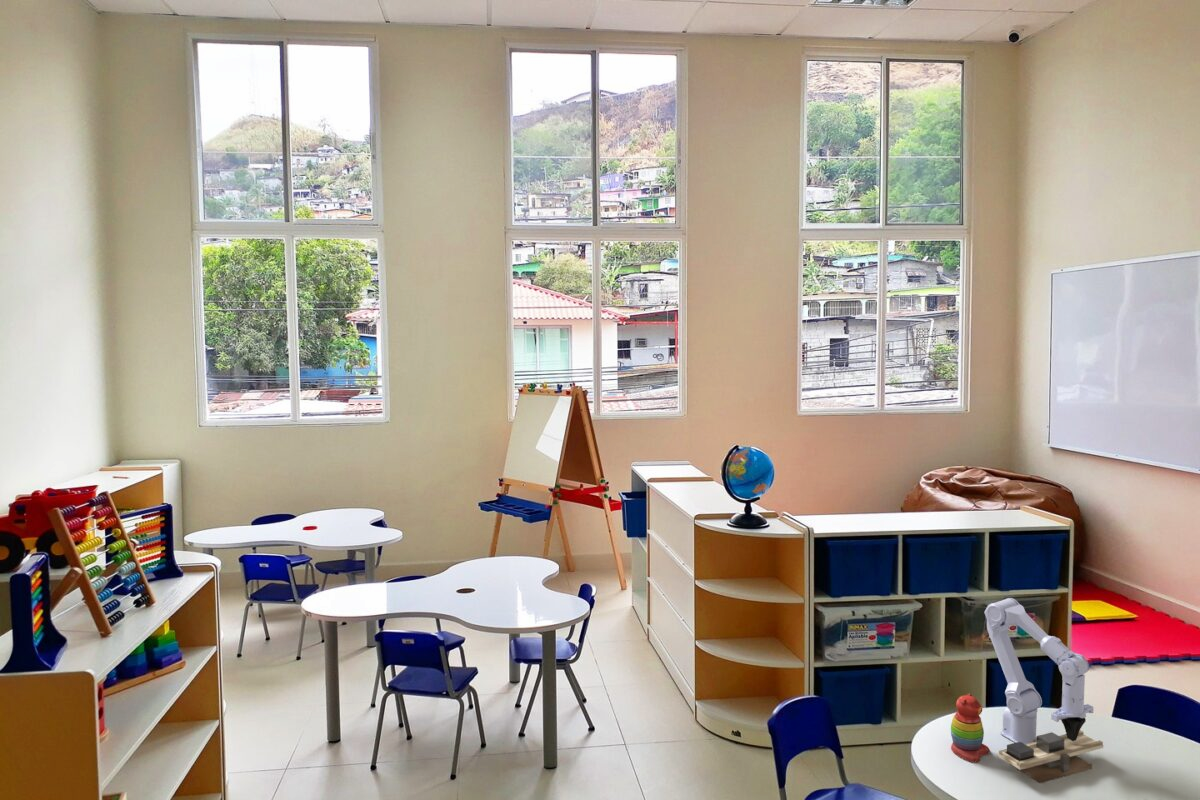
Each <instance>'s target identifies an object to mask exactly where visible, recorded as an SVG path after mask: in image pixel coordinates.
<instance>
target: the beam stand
mask: <svg viewBox="0 0 1200 800" xmlns="http://www.w3.org/2000/svg"><path fill="white" fill-rule="evenodd" d="M1034 742H1037V739H1034ZM1009 765H1010V766H1011V767H1014V768H1015V769H1017V770H1018V771H1020V772H1021V773H1022V774H1025V775H1026V776H1028V777H1029V778H1031V779H1033V780H1034V781H1035V782H1037V783H1039V784H1042V783H1046V782H1048V781H1049V782H1050V781H1053V780H1057V779H1061V778H1064V777H1066V776H1067V775H1068V776H1070V775H1074V774H1077V773H1078V774H1079V773H1082V772H1085V771H1088V770H1092V769H1093V764H1092V763H1089V762H1088V761H1087V760H1084V759H1083V758H1081V757H1080V756H1077V755H1075V756H1071V757H1070V756H1069V755H1068V754H1063V755H1061V759H1060V760H1056V761H1052V762H1048V763H1044V764H1041V765H1037V766H1033V767H1029V768H1025V769H1022V770H1019V769H1018V768H1016V767H1015V766H1013V765H1011V764H1010V763H1009ZM1063 776H1064V777H1063ZM1060 777H1061V778H1060Z"/></svg>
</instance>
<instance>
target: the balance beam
mask: <svg viewBox="0 0 1200 800" xmlns="http://www.w3.org/2000/svg"><path fill="white" fill-rule="evenodd" d="M1059 736H1060V737H1062V738H1064V739H1065V740H1064V750H1061V751H1057V752H1053V753H1049V754H1047V753H1045V752H1044V751H1042V750H1040V749H1039V748H1037V747H1036V743H1037V742H1033V743H1029V744H1025V745H1027V746H1029V747H1030V748H1032V749H1034V758H1030V759H1026V760H1022V761H1018V760H1016V759H1014V758H1013V757H1011V756H1010V755H1008V754H1007V748H1006V749H1002V750H998V757H999V758H1000V759H1002V760H1003V761H1005V762H1006V763H1008V764H1009V765H1010V764H1011V765H1010V766H1012V765H1013V766H1015V767H1016V768H1015V767H1014V768H1015V769H1017V768H1018V769H1019V770H1018V769H1017V770H1018V771H1020V770H1022V769H1025V768H1029V767H1033V766H1037V765H1041V764H1044V763H1048V762H1052V761H1056V760H1060V759H1061V755H1063V754H1068V755H1069V756H1070V757H1071V756H1075V755H1076V756H1077V755H1083V754H1086V753H1089V752H1090V753H1091V752H1093V751H1096V750H1097V751H1098V750H1101V749H1104V742H1103V741H1102V740H1094V739H1093V738H1091V737H1090V736H1087V735H1085V734H1084V731H1083V730H1081V729H1080V731H1079V733H1078V736H1077V739H1076V740H1075V741H1072V740H1070V739H1068V738H1067V735H1066V733H1065V734H1061V735H1059ZM1013 766H1012V767H1013Z"/></svg>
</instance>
